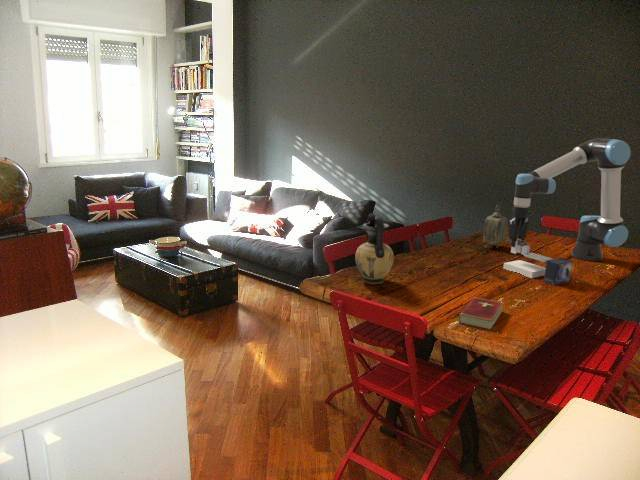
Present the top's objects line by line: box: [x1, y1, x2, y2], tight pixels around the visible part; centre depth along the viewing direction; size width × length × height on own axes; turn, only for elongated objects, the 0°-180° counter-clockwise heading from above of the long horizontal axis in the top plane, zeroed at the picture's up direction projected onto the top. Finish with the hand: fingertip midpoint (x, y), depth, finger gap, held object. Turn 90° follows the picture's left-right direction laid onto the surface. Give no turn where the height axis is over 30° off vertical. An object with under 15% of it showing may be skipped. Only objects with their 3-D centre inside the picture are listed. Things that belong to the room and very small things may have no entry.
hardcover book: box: [458, 296, 505, 330], centre depth 203 cm, size 12×21×4 cm, turn 151°
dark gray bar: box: [506, 237, 554, 263], centre depth 258 cm, size 24×6×6 cm, turn 32°
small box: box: [543, 257, 574, 286], centre depth 246 cm, size 11×6×10 cm, turn 117°
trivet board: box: [502, 259, 546, 279], centre depth 261 cm, size 16×12×3 cm
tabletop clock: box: [482, 203, 509, 249], centre depth 302 cm, size 14×9×25 cm, turn 144°
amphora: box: [354, 213, 394, 285], centre depth 237 cm, size 18×17×30 cm
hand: (515, 252), depth 265 cm, fingers closed on dark gray bar, 2 cm apart
